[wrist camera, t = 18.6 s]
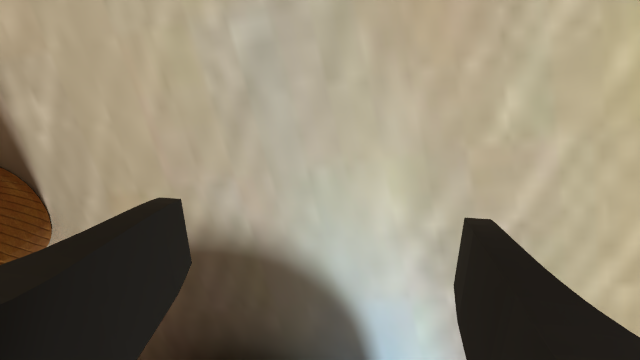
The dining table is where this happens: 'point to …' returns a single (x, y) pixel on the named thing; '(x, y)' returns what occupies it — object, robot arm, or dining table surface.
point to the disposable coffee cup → (21, 219)
